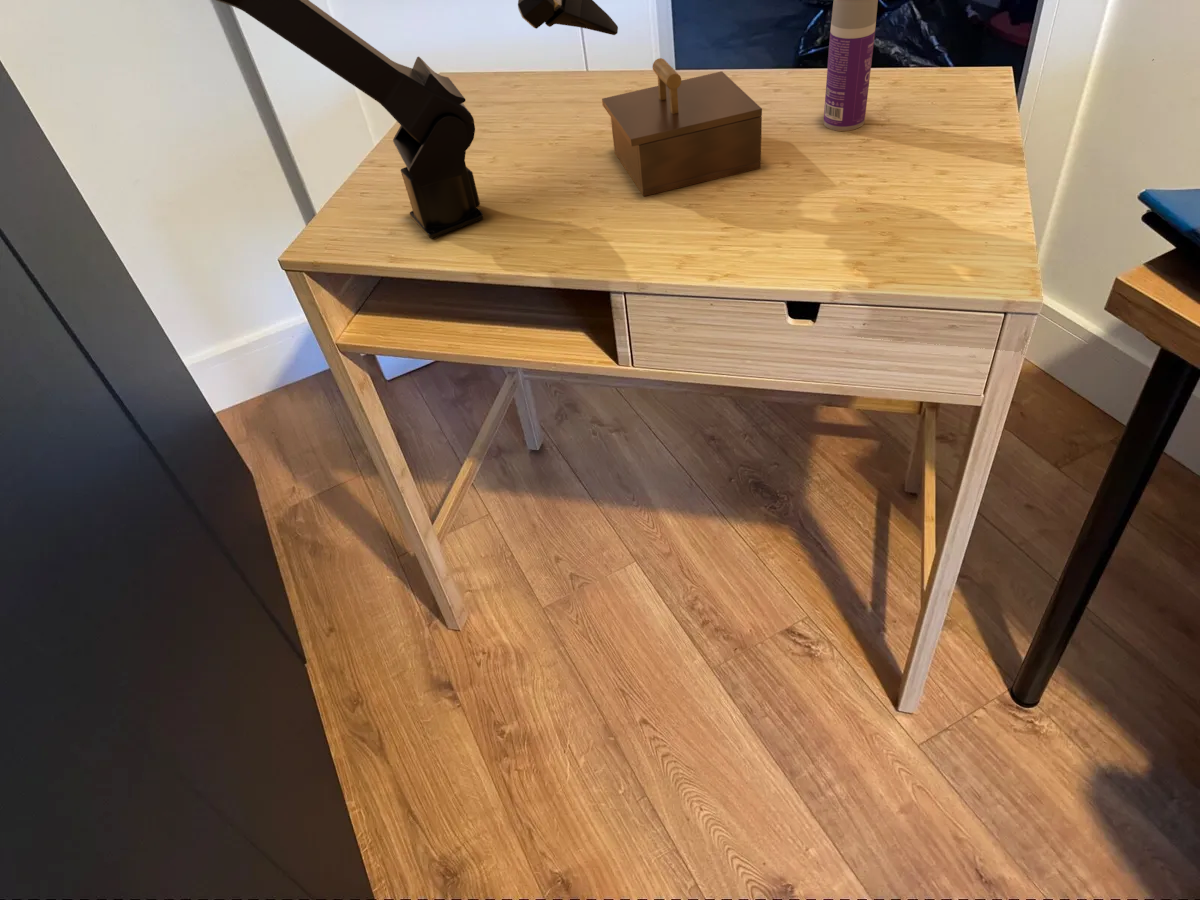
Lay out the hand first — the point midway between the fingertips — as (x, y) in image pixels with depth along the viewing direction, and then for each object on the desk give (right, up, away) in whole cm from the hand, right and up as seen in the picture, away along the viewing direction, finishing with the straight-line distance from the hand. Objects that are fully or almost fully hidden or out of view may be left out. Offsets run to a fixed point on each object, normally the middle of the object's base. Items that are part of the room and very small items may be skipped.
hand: (649, 7), depth 84 cm
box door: (+4, -8, +5) cm, 11 cm away
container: (+23, -7, +12) cm, 27 cm away
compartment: (+5, -12, +9) cm, 16 cm away
